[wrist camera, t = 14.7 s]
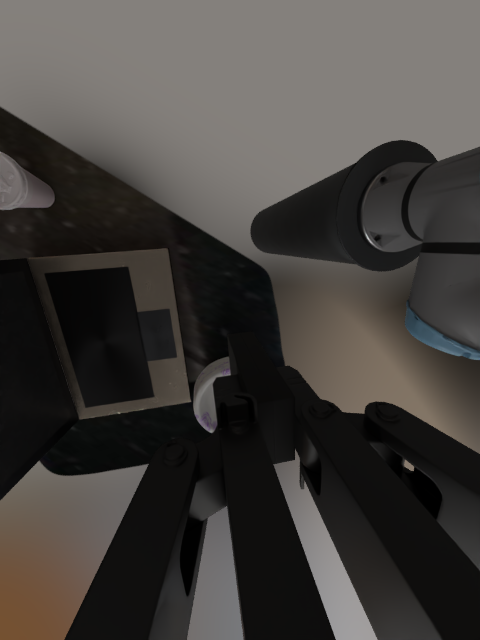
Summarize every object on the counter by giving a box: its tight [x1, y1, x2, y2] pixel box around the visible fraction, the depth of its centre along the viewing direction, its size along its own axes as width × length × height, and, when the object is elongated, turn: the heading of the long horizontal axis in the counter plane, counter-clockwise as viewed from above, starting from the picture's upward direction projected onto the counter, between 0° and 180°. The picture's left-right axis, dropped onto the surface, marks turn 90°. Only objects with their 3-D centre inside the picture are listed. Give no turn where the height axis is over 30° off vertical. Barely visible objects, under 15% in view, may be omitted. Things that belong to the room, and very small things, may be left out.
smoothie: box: [0, 152, 55, 210], centre depth 30 cm, size 6×6×14 cm
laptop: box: [28, 248, 191, 419], centre depth 44 cm, size 21×30×2 cm
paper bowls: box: [193, 357, 231, 433], centre depth 48 cm, size 15×15×8 cm
